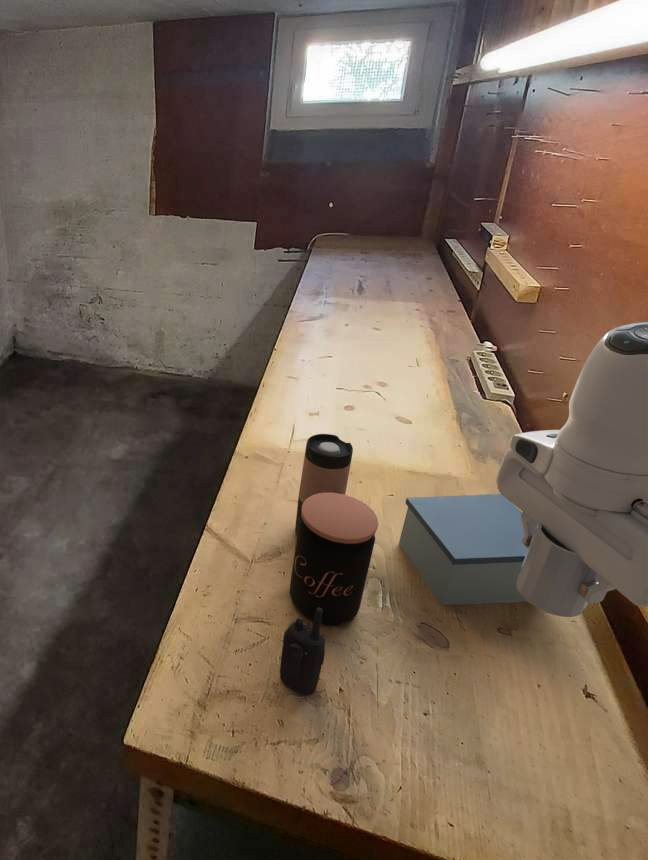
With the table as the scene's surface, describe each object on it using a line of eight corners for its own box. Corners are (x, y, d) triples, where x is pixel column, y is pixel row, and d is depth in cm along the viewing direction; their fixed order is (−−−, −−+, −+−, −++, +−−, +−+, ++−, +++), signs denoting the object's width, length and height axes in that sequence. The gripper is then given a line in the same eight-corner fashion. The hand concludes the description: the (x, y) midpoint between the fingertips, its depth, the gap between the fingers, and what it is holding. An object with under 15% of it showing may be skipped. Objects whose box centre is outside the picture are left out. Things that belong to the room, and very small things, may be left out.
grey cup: (568, 578, 69) (592, 521, 65) (595, 621, 63) (624, 561, 59) (507, 570, 71) (527, 514, 67) (529, 612, 65) (552, 553, 61)
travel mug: (294, 546, 102) (307, 454, 93) (292, 519, 109) (304, 431, 100) (339, 552, 100) (357, 459, 91) (334, 524, 107) (350, 435, 98)
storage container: (487, 538, 102) (502, 493, 98) (545, 603, 89) (566, 554, 84) (395, 542, 102) (406, 497, 98) (439, 607, 89) (455, 559, 84)
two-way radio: (321, 686, 78) (337, 608, 71) (307, 709, 75) (322, 631, 68) (284, 663, 81) (295, 587, 74) (269, 684, 78) (280, 607, 71)
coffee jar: (275, 603, 91) (287, 515, 83) (308, 567, 97) (321, 483, 89) (339, 642, 84) (359, 550, 76) (369, 601, 90) (390, 513, 82)
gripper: (735, 537, 50) (673, 643, 56) (549, 423, 68) (518, 512, 75) (671, 545, 50) (615, 651, 56) (501, 428, 68) (473, 518, 74)
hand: (558, 571), depth 65 cm, fingers closed on grey cup, 6 cm apart
